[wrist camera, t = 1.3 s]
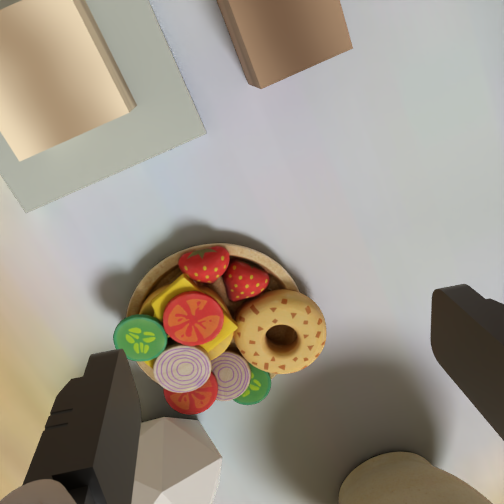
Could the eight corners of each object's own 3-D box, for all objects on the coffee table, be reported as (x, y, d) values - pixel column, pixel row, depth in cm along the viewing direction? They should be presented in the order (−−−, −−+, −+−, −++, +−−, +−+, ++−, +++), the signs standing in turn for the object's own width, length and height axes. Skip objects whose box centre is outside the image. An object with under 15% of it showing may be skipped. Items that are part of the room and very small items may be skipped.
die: (112, 470, 38) (171, 579, 33) (62, 447, 31) (127, 581, 26) (190, 406, 40) (256, 499, 35) (159, 372, 34) (236, 482, 28)
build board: (108, -91, 23) (105, -98, 22) (206, 131, 28) (206, 133, 27) (-103, 6, 23) (-114, 4, 22) (31, 208, 28) (25, 213, 27)
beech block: (82, -7, 23) (63, -19, 20) (137, 105, 26) (129, 112, 22) (-22, 41, 23) (-60, 37, 20) (42, 147, 26) (19, 161, 22)
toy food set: (337, 319, 35) (351, 343, 32) (213, 418, 37) (215, 449, 34) (221, 199, 30) (225, 215, 27) (85, 322, 32) (75, 349, 29)
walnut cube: (296, -42, 25) (321, -64, 20) (324, 50, 27) (352, 48, 22) (214, -4, 25) (221, -18, 21) (248, 84, 27) (261, 88, 23)
